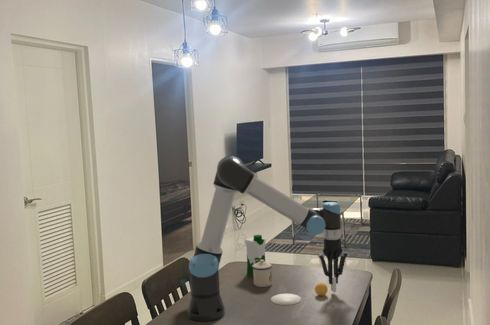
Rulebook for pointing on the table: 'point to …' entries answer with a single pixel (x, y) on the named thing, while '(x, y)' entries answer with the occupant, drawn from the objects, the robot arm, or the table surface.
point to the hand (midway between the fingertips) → (333, 290)
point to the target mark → (286, 299)
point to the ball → (321, 289)
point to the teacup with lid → (262, 274)
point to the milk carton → (254, 251)
